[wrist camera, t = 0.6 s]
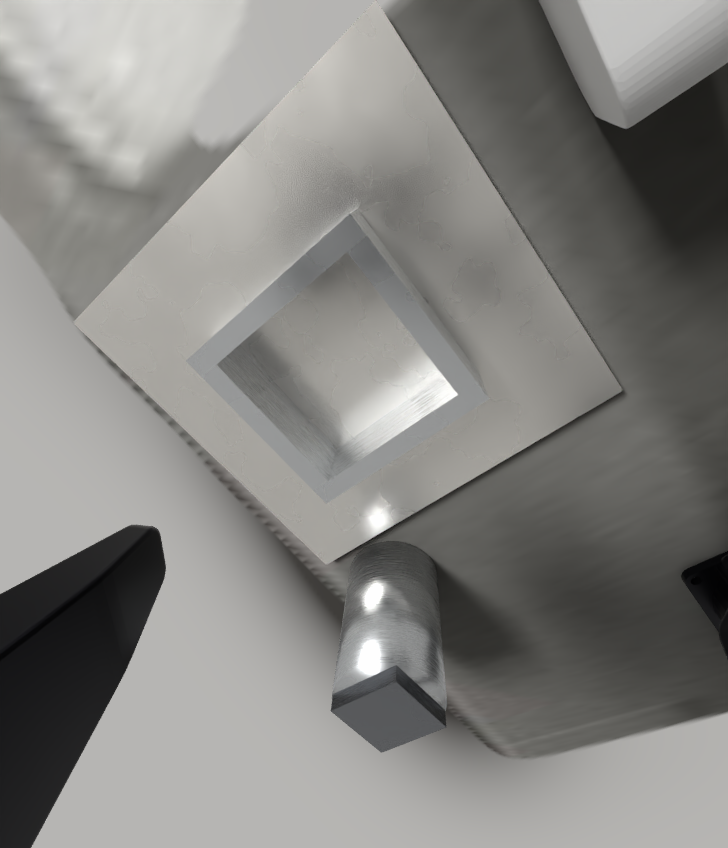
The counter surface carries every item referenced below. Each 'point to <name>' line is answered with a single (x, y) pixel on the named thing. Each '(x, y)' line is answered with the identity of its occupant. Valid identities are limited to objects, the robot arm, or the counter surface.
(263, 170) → the duct socket
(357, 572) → the sleeve
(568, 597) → the counter surface
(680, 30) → the grey rounded block
